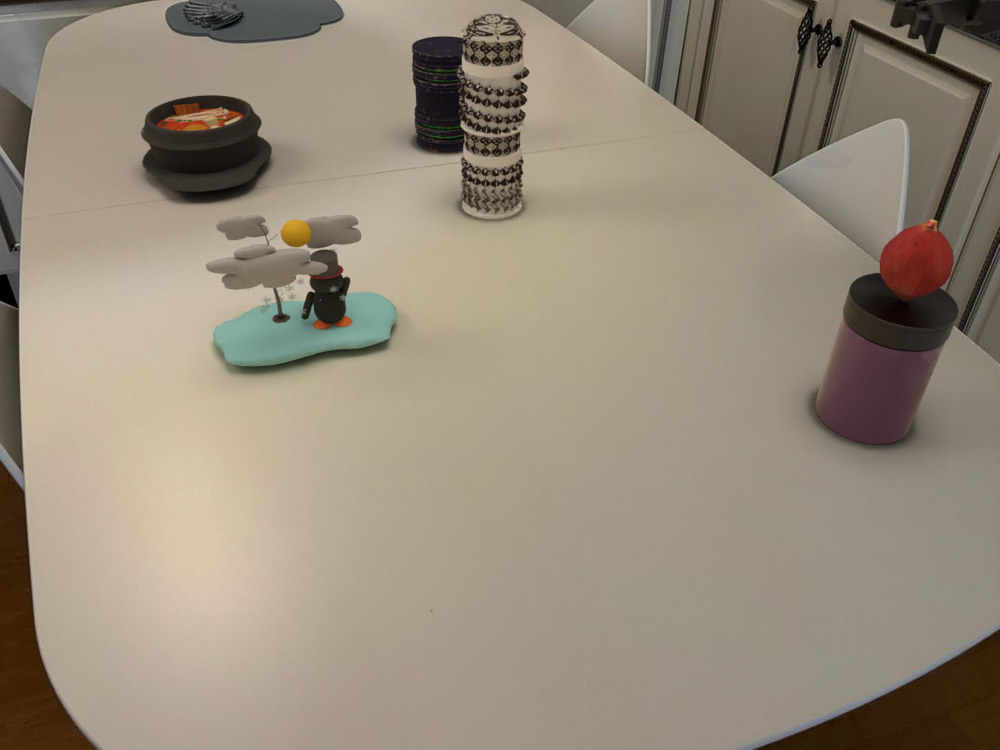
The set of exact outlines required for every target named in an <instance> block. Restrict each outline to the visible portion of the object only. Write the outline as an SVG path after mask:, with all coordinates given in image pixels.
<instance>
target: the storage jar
mask: <svg viewBox="0 0 1000 750" xmlns="http://www.w3.org/2000/svg"><path fill="white" fill-rule="evenodd" d="M411 53H412V55H411V56H412V58H411V59H412V62H411V72H412V81H413V85H414V87H415V89H414V90H415V107H414V128H415V134H416V145H417V146H418V147H419V148H421V149H422V150H425V151H427V152H431V153H435V154H457V153H463V146H464V142H465V140H464V134H465V130H464V129H463V128H462V127H461V119H460V114H459V111H460V109H461V107H460V104H459V99H460V95H461V94H460V93H459V88H458V87H457V84H458V83H459V77H457V72H458V67H459V66H461V65H462V55H463V53H464V52H463V37H459V36H451V35H449V36H447V35H441V36H438V35H437V36H429V37H425V38H424V37H423V38H420V39H418V40H416V41H414V42H413V43H412V44H411ZM462 75H464V74H463V73H462ZM463 86H464V89H465V85H464V84H462V87H463ZM464 103H465V100H464ZM464 113H465V111H464Z"/></svg>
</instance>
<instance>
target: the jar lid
mask: <svg viewBox="0 0 1000 750" xmlns="http://www.w3.org/2000/svg"><path fill="white" fill-rule="evenodd" d="M959 312H960V311H959V306H958V303H957V301H956V300H955V299H954V297H953V296H952V295H951V294H949V293H948V292H947V291H946V290H944V289H943V288H942V287H940V288H939V289H938V290H936V291H934V292H932V293H930V294H927V295H925V296H922V297H918V298H915V299H913V300H910V301H903V300H900V299H899V298H898V297H897V295H896V294H895V293H894V292H893V291H892V290H891V289H890V288H889V287H888V286H887V285H886V283H885V282H884V280H883V278H882V276H881V273H880V272H873V273H867V274H863V275H861V276H859V277H857V278H855V279H854V280H853V281H852V283H851V284H850V286H849V289H848V292H847V295H846V297H845V301H844V304H843V308H842V315H843V316H844V319H845V320H846V322H847V324H848V325H849V326H850V327H851V328H852V329H853V330H854V331H856V332H857V333H858V334H860V335H861V336H863V337H865V338H867V339H868V340H870V341H873V342H875V343H878V344H880V345H883V346H887V347H890V348H895V349H901V350H910V351H921V350H929V349H933V348H936V347H939V346H941V345H942V344H944V343H945V344H946V342H947V341H948V340H949V338H950V336H951V333H952V331H953V328H954V326H955V324H956V322H957V319H958V317H959ZM945 344H944V345H945Z"/></svg>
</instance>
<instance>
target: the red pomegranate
mask: <svg viewBox="0 0 1000 750" xmlns="http://www.w3.org/2000/svg"><path fill="white" fill-rule="evenodd" d="M938 223H939V221H938V220H936V219H930V218H929V219H928V220H927V221H925V222H923V223H920V224H917V225H913V226H910V227H907V228H904V229H903V230H902V231H900V232H899V233H898V234H896V235H895V236H894V237H893V238H891V239H890V240H889V241H888V242H887V243H886V244H885V245H884V246H883V249H882V251H881V253H880V257H879V267H878V268H879V273H881V276H882V278H883V280H884V282H885V283H886V285H887V286H888V287H889V288H890V289H891V290H892V291H893V292H894V293H895V294H896V295H897V297H898V298H899V299H900V300H903V301H910V300H913V299H915V298H918V297H922V296H925V295H927V294H930V293H932V292H934V291H936V290H938V289H939V288H942V287H944V285H946V284H947V282H948V280H949V278H950V277H951V274H952V271H953V267H954V264H955V255H954V250H953V248H952V246H951V243H950V242H949V240H948V239H947V237H946V235H944V234H943V232H941V230H939V229H938Z"/></svg>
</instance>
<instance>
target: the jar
mask: <svg viewBox="0 0 1000 750" xmlns="http://www.w3.org/2000/svg"><path fill="white" fill-rule="evenodd" d="M835 335H836V336H835V338H834V342H833V343H832V348H831V350H830V353H829V356H828V360H827V363H826V367H825V370H824V373H823V375H822V380H821V383H820V385H819V390H818V393H817V395H816V399H815V403H814V407H815V412H816V414H817V416H818V418H819V419H820V421H822V423H823V424H824V425H825V426H826V427H827V428H829V429H830V430H832V431H833V432H835V433H836V434H838V435H840V436H842V437H843V438H846V439H848V440H851V441H854V442H856V443H857V442H858V443H861V444H868V445H889V444H893V443H896V442H899V441H901V440H902V439H904V438H905V437H906V436H907V435H908V433H909V432H910V429H911V428H912V424H913V422H914V419H915V418H916V415H917V413H918V410H919V408H920V406H921V403H922V400H923V398H924V395H925V393H926V391H927V388H928V386H929V383H930V381H931V379H932V376H933V374H934V371H935V369H936V366H937V364H938V361H939V359H940V356H941V355H942V351H943V349H944V347H945V344H946V342H945V343H944V344H942V345H941V346H939V347H936V348H933V349H929V350H921V351H910V350H901V349H895V348H890V347H887V346H883V345H880V344H878V343H875V342H873V341H870V340H868V339H867V338H865V337H863V336H861V335H860V334H858V333H857V332H856V331H854V330H853V329H852V328H851V327H850V326H849V325H848V324H847V322H846V320H845V319H844V316H843V314H842V315H841V319H840V321H839V325H838V328H837V332H836V334H835Z"/></svg>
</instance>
